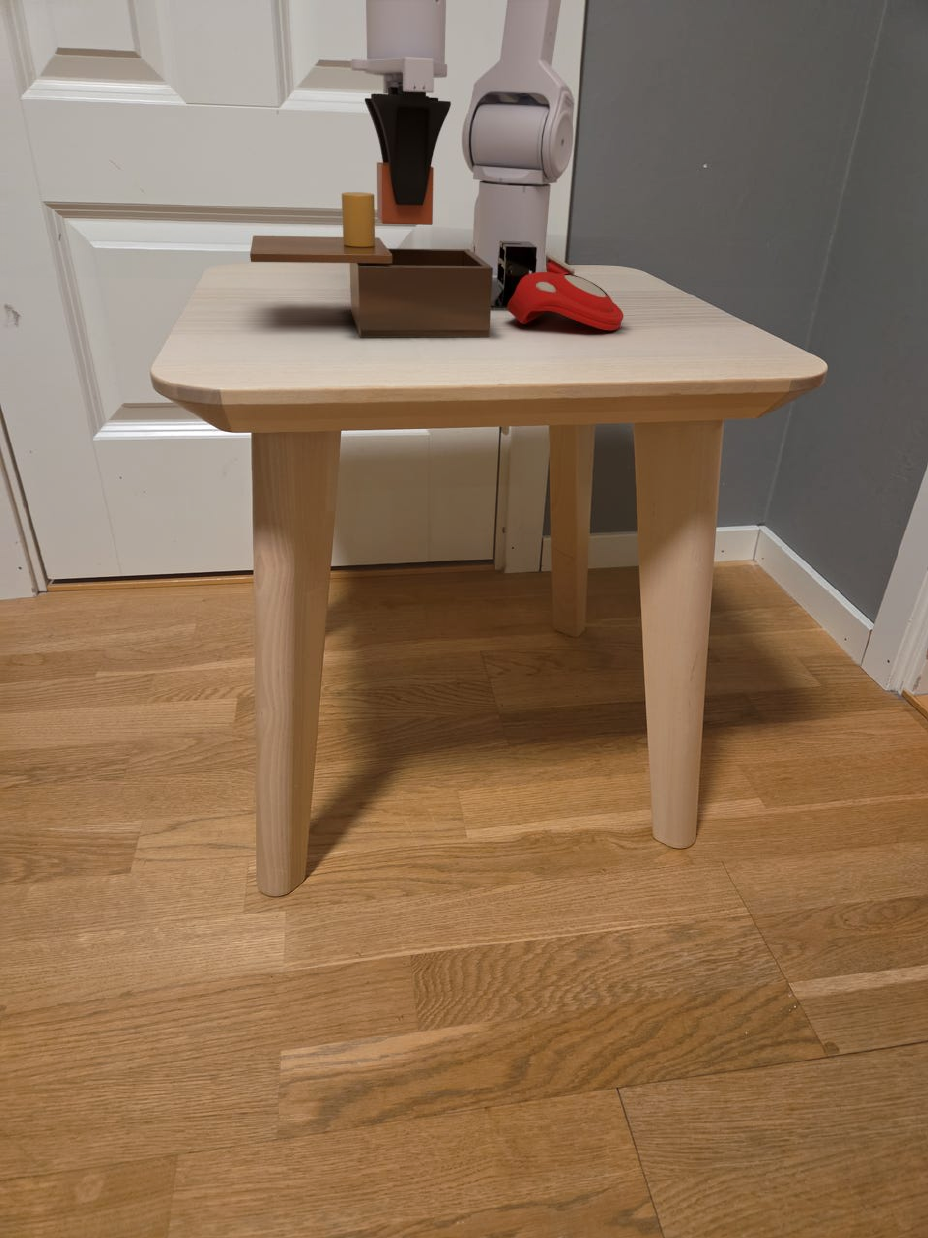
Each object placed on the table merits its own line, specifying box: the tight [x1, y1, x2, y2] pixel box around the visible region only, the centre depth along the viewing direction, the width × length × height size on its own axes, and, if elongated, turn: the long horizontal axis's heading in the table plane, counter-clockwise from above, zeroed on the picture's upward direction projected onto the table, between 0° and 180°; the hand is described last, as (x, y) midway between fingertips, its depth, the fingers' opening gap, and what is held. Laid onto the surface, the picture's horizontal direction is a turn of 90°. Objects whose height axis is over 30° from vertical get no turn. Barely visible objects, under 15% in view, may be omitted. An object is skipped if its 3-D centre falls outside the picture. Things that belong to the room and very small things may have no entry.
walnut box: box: [349, 247, 493, 338], centre depth 65 cm, size 9×10×5 cm
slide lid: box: [249, 191, 392, 264], centre depth 61 cm, size 9×10×4 cm
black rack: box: [491, 241, 537, 310], centre depth 77 cm, size 12×7×5 cm, turn 7°
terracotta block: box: [376, 161, 435, 226], centre depth 65 cm, size 4×4×4 cm
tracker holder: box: [506, 252, 625, 331], centre depth 68 cm, size 12×4×10 cm
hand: (405, 201), depth 65 cm, fingers closed on terracotta block, 4 cm apart
